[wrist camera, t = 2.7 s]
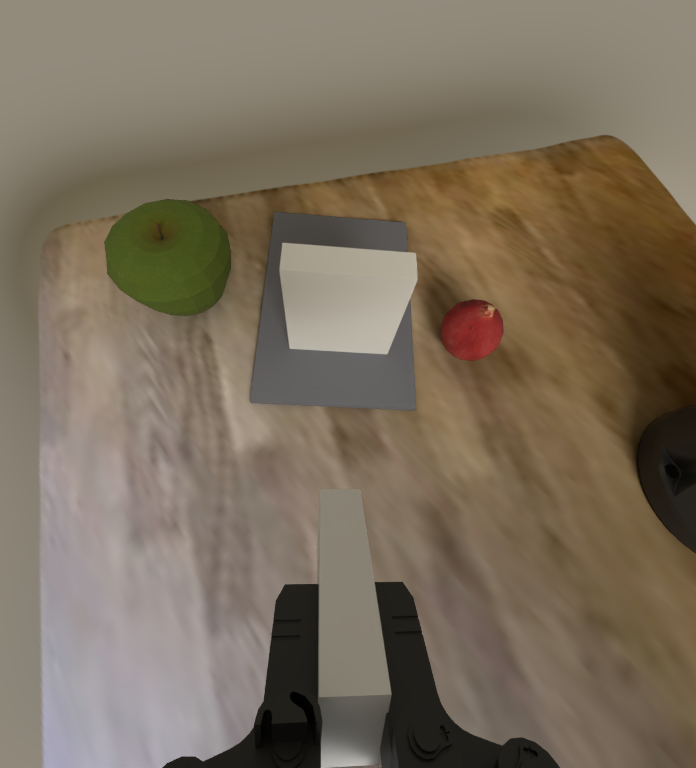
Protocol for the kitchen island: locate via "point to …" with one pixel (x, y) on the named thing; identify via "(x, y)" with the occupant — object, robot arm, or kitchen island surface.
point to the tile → (344, 296)
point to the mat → (330, 368)
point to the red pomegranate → (472, 330)
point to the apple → (169, 256)
